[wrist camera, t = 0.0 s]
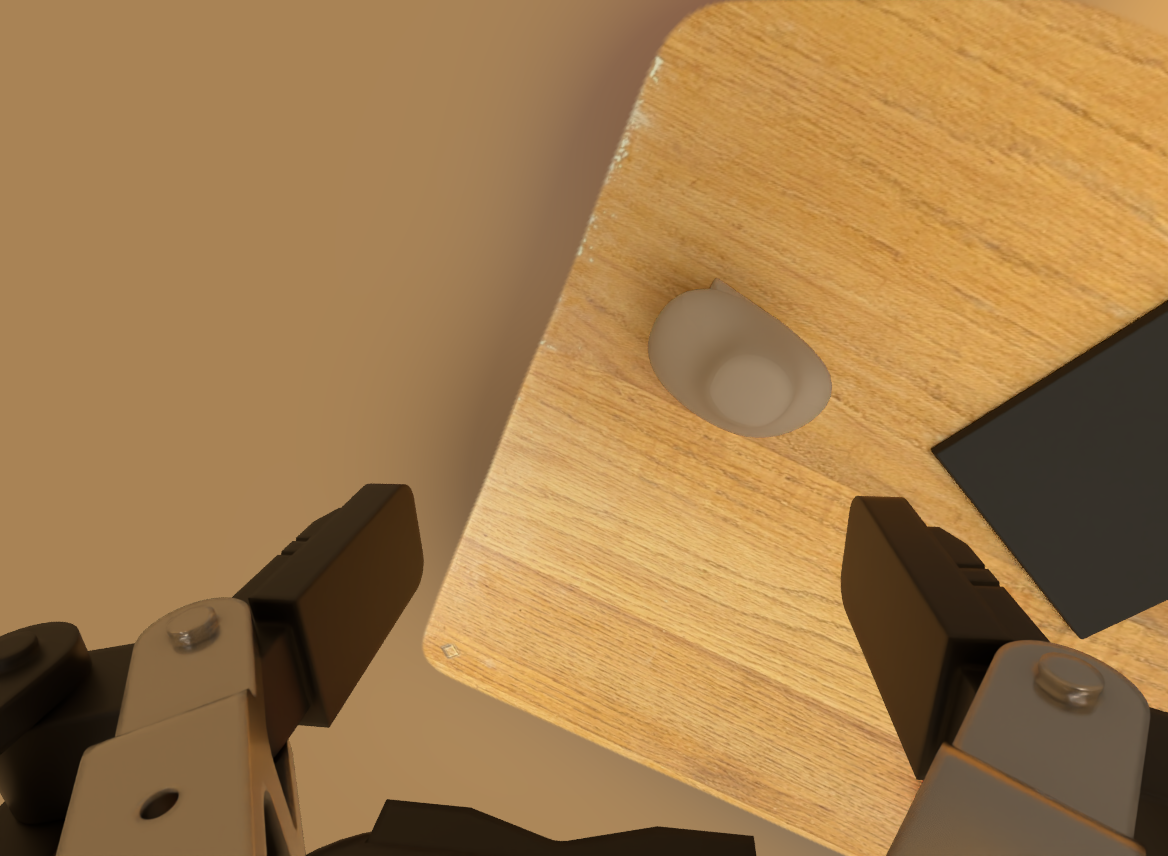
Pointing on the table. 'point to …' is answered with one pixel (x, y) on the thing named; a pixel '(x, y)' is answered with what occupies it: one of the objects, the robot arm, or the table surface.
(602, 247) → the table surface
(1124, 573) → the mat
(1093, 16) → the table surface
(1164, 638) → the table surface
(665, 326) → the grey rounded body
